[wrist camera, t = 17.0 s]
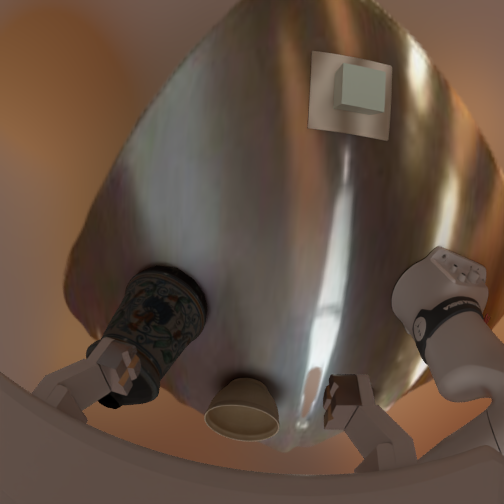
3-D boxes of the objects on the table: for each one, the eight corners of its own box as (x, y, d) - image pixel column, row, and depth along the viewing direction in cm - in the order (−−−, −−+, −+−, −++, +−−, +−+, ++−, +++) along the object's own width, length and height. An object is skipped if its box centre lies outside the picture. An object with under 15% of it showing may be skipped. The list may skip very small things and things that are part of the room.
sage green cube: (371, 80, 30) (385, 72, 25) (370, 115, 33) (384, 112, 27) (334, 73, 31) (343, 62, 25) (333, 108, 33) (341, 103, 28)
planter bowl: (292, 399, 61) (290, 436, 51) (236, 410, 65) (229, 443, 56) (263, 360, 56) (257, 400, 46) (202, 374, 61) (189, 410, 51)
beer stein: (218, 281, 49) (167, 393, 26) (198, 352, 57) (160, 448, 35) (135, 251, 49) (50, 333, 26) (131, 325, 57) (74, 407, 35)
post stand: (389, 67, 30) (407, 57, 24) (385, 140, 36) (403, 143, 29) (311, 53, 32) (315, 37, 25) (307, 128, 37) (311, 127, 30)
